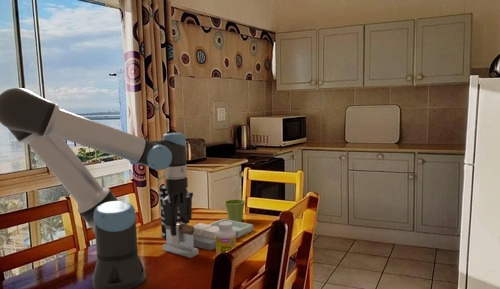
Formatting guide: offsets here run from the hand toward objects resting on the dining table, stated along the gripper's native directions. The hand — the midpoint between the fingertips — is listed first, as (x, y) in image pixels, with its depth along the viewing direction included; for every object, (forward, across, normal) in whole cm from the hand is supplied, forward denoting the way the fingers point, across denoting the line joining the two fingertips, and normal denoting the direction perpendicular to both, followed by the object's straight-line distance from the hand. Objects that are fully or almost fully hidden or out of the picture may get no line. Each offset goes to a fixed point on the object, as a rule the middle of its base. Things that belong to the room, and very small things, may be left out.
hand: (179, 242), depth 147 cm
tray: (+4, +28, 0) cm, 28 cm away
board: (+4, +15, 0) cm, 15 cm away
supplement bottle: (+4, +3, -19) cm, 20 cm away
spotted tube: (+4, +11, +16) cm, 20 cm away
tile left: (+1, +14, +4) cm, 15 cm away
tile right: (+1, +14, -4) cm, 15 cm away
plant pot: (+4, +40, +7) cm, 41 cm away
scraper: (+4, 0, 0) cm, 4 cm away
